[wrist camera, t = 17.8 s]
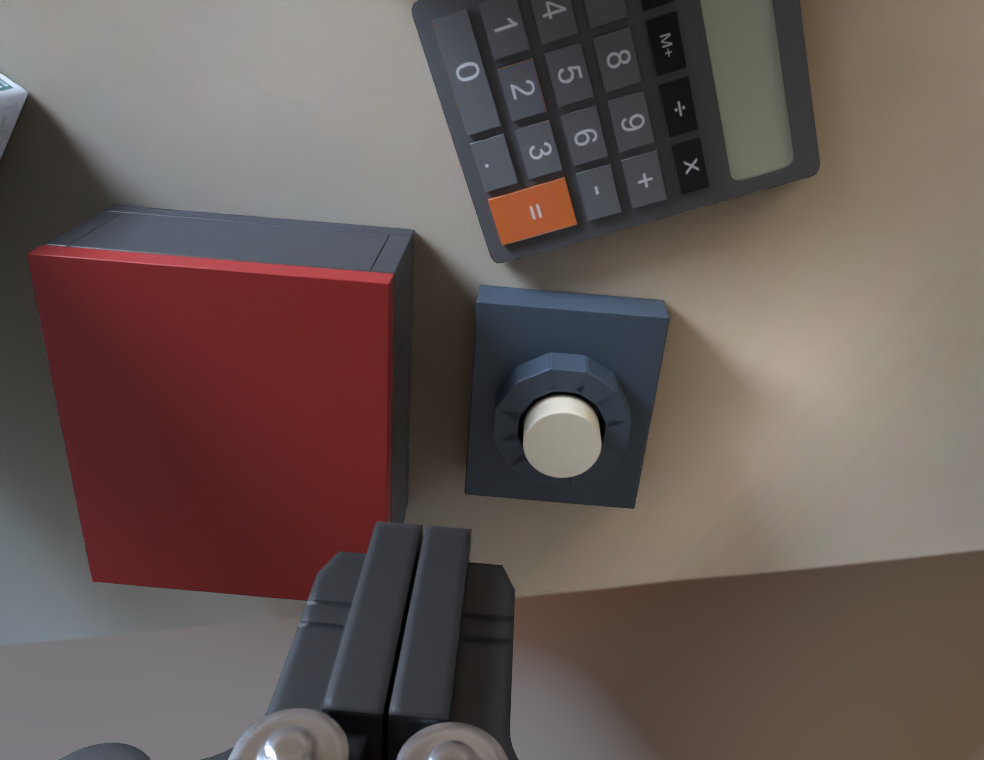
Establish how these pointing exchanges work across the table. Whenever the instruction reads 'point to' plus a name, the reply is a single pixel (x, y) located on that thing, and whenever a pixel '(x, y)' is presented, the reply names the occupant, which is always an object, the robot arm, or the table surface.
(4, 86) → the syrup box
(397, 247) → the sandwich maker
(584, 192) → the calculator
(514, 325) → the control block
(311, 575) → the lid
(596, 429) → the power button
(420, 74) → the table surface
